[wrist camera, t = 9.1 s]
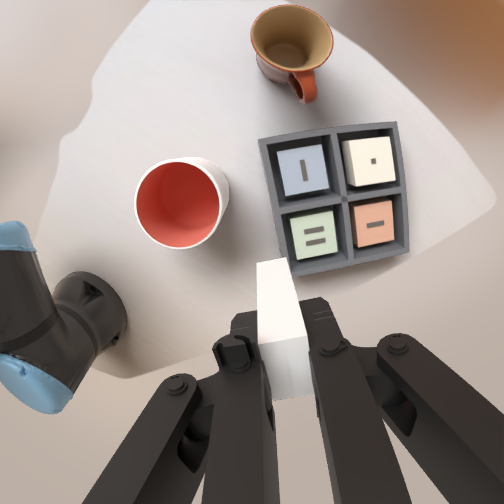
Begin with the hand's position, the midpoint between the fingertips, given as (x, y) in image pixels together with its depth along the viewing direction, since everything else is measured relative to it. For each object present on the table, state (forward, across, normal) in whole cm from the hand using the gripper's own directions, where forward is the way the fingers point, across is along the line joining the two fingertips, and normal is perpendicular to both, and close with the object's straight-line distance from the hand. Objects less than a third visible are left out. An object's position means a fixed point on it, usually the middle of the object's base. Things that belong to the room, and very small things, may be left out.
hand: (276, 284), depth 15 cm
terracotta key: (+26, +14, -5) cm, 30 cm away
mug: (+27, +7, +17) cm, 32 cm away
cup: (+27, -9, +3) cm, 28 cm away
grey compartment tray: (+26, +10, -1) cm, 28 cm away
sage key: (+26, +6, -5) cm, 27 cm away
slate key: (+26, +6, +3) cm, 27 cm away
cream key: (+24, +14, +3) cm, 28 cm away
